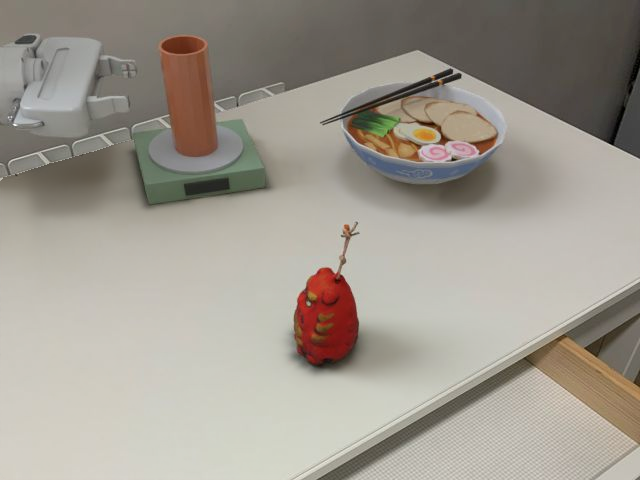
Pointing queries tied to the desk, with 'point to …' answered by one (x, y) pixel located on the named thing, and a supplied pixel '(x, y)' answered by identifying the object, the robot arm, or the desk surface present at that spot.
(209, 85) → the cup
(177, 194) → the scale
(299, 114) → the desk surface
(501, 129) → the ramen bowl
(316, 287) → the red clay folk toy
